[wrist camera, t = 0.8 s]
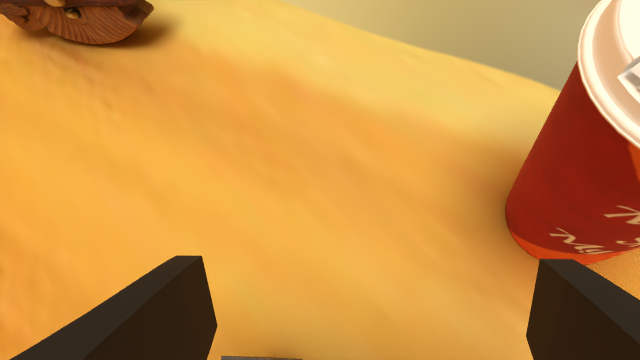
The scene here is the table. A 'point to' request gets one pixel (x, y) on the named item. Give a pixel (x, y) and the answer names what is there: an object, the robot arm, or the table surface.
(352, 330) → the table surface
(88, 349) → the robot arm
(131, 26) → the wooden carving
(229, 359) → the collar
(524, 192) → the paper cup
